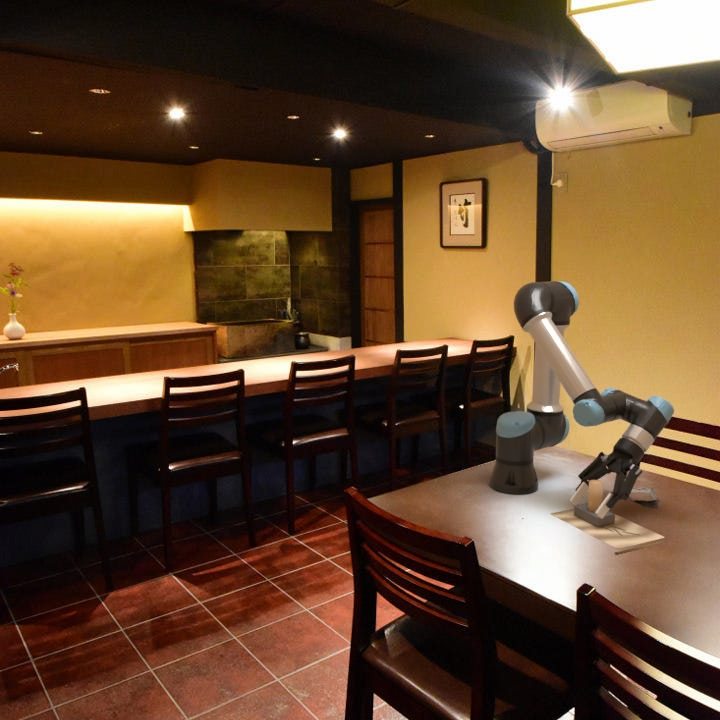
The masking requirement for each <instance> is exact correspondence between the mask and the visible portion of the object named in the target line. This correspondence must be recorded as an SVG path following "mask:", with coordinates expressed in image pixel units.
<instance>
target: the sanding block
mask: <svg viewBox="0 0 720 720" xmlns="http://www.w3.org/2000/svg"><path fill="white" fill-rule="evenodd" d="M603 488H604V482H603V481H602V480H599V479H598V480H590V481H589V490H588V491H587V493H588V495H587V503H584V504H578V505H577V506H575V505H574V506H573V509H574V515H575V516H577V517H579V518H581V519H583V520H585V521H587V522H589V523H591V524H593V525H595V526H597V527H599V526H604V525H608V524H612V523H615V513H614V512H612V511H610V510H609V511H608V512H607V513H606V515H605V516H604V517H603V519H601V518H600V517H599V516H598V515H597V514H596V513H595V512H596V510H597V509H598V508H599V506H600V505H601V504H602V502H603V492H604V491H603V490H604V489H603Z"/></svg>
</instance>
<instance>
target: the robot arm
mask: <svg viewBox="0 0 720 720" xmlns="http://www.w3.org/2000/svg"><path fill="white" fill-rule="evenodd" d="M579 303H580V299H579V294H578V292H577V291H576V289H575V288H574V287H573V286H572V285H571V284H570V283H569V282H566V281H558V280H551V281H532V282H528V283H525V284H524V285H522V286H521V287H520V288H519V289H518V291H517V292H516V294H515V296H514V299H513V311H514V315H515V318H516V320H517V322H518V323H519V326H520V328H521V330H523V331H524V333H527V334H529V335H530V337H531V338H532V340H533V341H534V343H535V347H534V364H533V376H532V390H531V391H532V393H531V394H532V395H531V401H530V402H528V403H527V404H526V411H523V410H516V411H508V412H504V413H502V414H501V415H499V417H498V418H497V421H496V427H495V434H496V435H495V463H494V466H493V468H492V472H491V475H490V477H489V487H490V488H491V489H493V490H495V491H497V492H501V493H504V494H511V495H527V494H532V493H535V492H536V491H538V489H539V478H538V475H537V472H536V469H535V465H534V455H535V454H534V452H535V451H538V450H542V449H546V448H551V447H552V448H553V447H555V446H557V445H559V444H562V442H563V441H565V440H566V439H567V437H568V436H569V432H570V421H569V418H567V415H566V413H565V412H564V409H565V408H564V407H563V406H562V405H561V404H560V395H561V393H560V392H561V386H562V387H563V388H564V390H565V392H566V394H567V395H568V396H569V398H570V400H571V402H572V403H573V407H572V415H573V419H574V420H575V422H576V423H577V424H578V425H579V426H581V427H588V428H589V427H597V426H601V425H602V424H605V423H610V422H613V421H617V420H622V421H623V422H626V423H629V425H628V427H627V428H626V430H625V431H624V432H623V433H622V435H621V437H620V438H619V439H618V440H617V441H616V443H615V444H614V445H613V449H612V452H611V453H609V454H606V453H604V452H603V451H600V452H599V453H598V455H597V457H596V458H595V459H593V461H592V462H591V463H589V465H588V466H587V467H585V468H584V469H583V470H582V471H581V472H580V473H579V474H578V475H577V477H578V479H579V480H580V483H579V484H578V485H577V487H576V488H575V492H574V493H573V494H572V496H571V497H570V499H569V501H570V502H571V504H573V505H574V506H578V505H580V502H581V501H582V499H583V498H584V497H585V496H586V494H587V493H588V490H589V481H590V480H599V479H601V478H602V477H604V476H606V475H609V474H611V473H613V474H614V473H615V479H614V486H613V489H612V491H611V492H609V493H608V494H607V495H606V496H605V498H604V500H602V504H601V505H600V506H599V508H598V509H597V510H596V512H595V513H596V514H597V515H598V516H599V517H600V518H601V519H603V517H604V516H605V515H606V513H607V512H608V511H610V509H611V510H612V509H613V508H614V507H615V506H616V505H617V503H618V501H620V500H624V501H628V497H630V495H631V493H632V492H631V491H632V489H633V488H634V486H635V484H636V481H637V480H638V478H639V476H640V475H641V474H642V473H643V470H642V469H641V468H640V466H639V465H638V464H639V462H640V461H642V458H643V457H644V456H645V453H646V452H647V451H648V450H649V449H650V447H651V446H652V445H653V444H654V442H655V441H656V439H657V437H658V436H659V435H660V434H661V433H662V431H663V430H664V428H665V427H666V426H667V425H668V424H669V422H670V420H671V419H672V417H673V415H674V413H675V408H674V407H673V405H672V403H670V401H668V400H667V399H665V398H663V397H661V396H658V395H651V396H650V397H649V398H648V399H647V400H645V399H641V398H639V397H637V396H633V395H632V394H629V393H627V392H624V391H623V390H621V389H617V388H613V387H607V388H605V389H604V390H603V391H602V392H601V393H600V391H599V390H598V388H597V387H596V386H595V384H594V383H593V381H592V379H591V378H590V376H589V375H588V373H587V372H586V370H585V369H584V367H583V366H582V364H581V363H580V361H579V360H578V358H577V356H576V355H575V352H573V350H572V349H571V347H570V346H569V344H568V343H567V341H566V340H565V330H566V329H567V328H569V327H570V325H571V324H570V323H571V317H572V316H573V315H574V314H575V313H576V312H577V311H578V309H579V305H580V304H579Z"/></svg>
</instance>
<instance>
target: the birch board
mask: <svg viewBox="0 0 720 720" xmlns="http://www.w3.org/2000/svg"><path fill="white" fill-rule="evenodd" d="M549 514H550V515H552V516H553V517H556V518H557V519H559V520H561V521H563V522H565V523H567V524H569V525H571V526H573V527H575V528H577V529H579V530H580V531H581V532H582V531H583V532H584V533H585V534H588V535H590V536H592V537H594V538H595V539H597V540H599V541H601V542H603V543H605V544H607V545H609V546H611V547H613V548H615V549H616V550H620V551H616V552H614V554H615V555H617V556H619V554H620V555H623V553H624V554H627V552H628V553H631V552H636V551H639V550H643V549H646V548H651V547H655V546H659V545H663V544H665V543H666V540H665V536H663V535H661V534H659V533H657V532H655V531H652V530H650V529H648V528H646V527H643V526H641V525H639V524H637V523H635V522H633V521H631V520H628V519H627V518H624V517H622V516H620V515H618V514H615V513H614V514H615V523H612V524H608V525H604V526H599V527H597V526H595V525H593V524H591V523H589V522H587V521H585V520H583V519H581V518H579V517H577V516H575V515H574V508H569V509H565V510H560V511H555V512H552V513H551V512H550V513H549ZM662 539H664V540H662ZM656 540H659V541H656ZM653 541H656V542H653ZM649 542H651V543H649ZM646 543H647V544H646ZM648 543H649V544H648ZM640 544H641V545H640ZM642 544H643V545H642ZM644 544H645V545H644ZM638 545H640V546H638ZM633 546H635V547H633ZM630 547H632V548H630ZM626 548H627V549H626ZM621 549H624V550H621Z"/></svg>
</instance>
